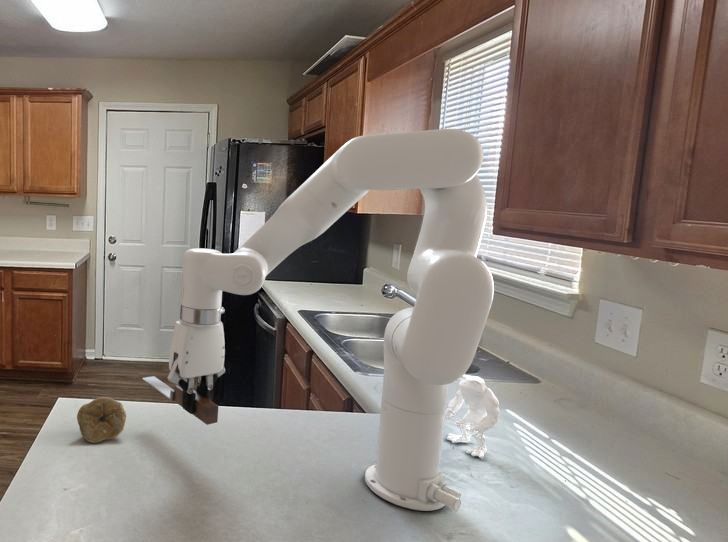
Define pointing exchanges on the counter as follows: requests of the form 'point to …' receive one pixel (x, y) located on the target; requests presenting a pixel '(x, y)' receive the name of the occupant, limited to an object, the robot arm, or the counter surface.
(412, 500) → the robot arm
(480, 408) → the figurine
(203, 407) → the knife
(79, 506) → the counter surface
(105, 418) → the fossil
